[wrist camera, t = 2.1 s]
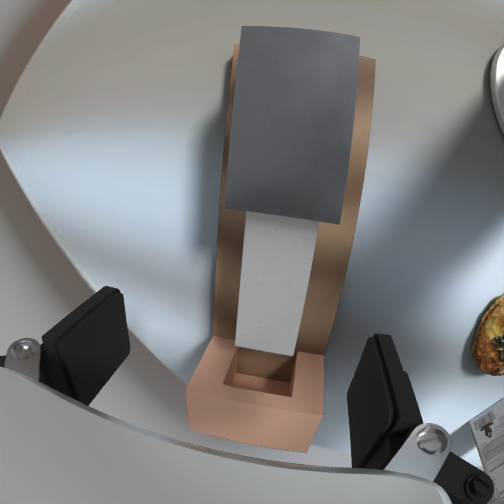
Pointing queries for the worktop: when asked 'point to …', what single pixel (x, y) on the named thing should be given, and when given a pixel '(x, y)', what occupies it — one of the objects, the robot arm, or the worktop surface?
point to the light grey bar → (274, 281)
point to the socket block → (255, 400)
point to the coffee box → (491, 443)
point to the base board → (324, 259)
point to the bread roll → (490, 340)
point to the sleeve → (292, 122)
